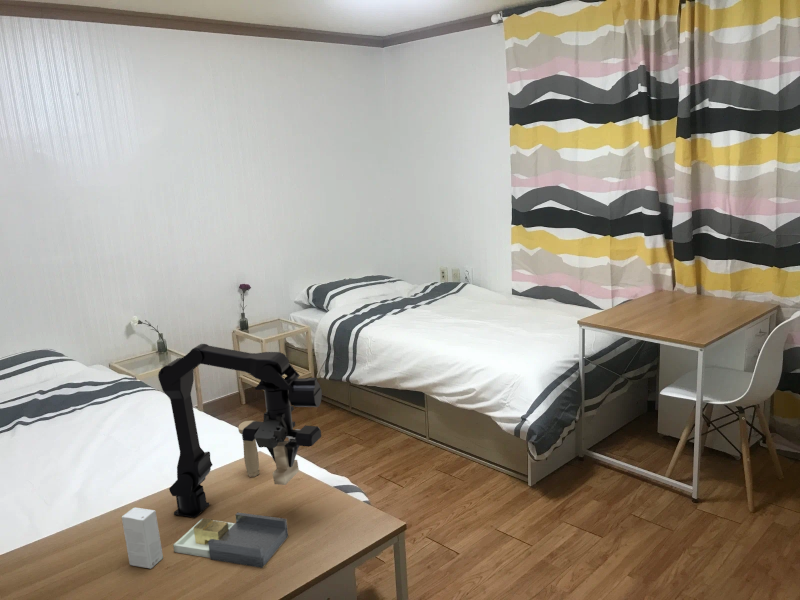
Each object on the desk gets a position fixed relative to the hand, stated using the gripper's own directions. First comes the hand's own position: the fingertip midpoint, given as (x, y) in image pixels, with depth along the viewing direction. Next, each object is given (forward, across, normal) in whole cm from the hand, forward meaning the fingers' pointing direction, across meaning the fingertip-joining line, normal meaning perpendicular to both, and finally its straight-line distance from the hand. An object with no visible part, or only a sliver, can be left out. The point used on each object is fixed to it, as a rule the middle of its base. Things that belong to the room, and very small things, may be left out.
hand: (284, 465), depth 154 cm
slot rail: (+13, -2, -15) cm, 20 cm away
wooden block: (+10, -13, -15) cm, 22 cm away
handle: (+13, -20, +16) cm, 29 cm away
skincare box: (+13, -23, -25) cm, 36 cm away
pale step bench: (+3, 0, 0) cm, 3 cm away
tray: (+13, -14, -15) cm, 24 cm away
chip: (+11, -11, -15) cm, 22 cm away
